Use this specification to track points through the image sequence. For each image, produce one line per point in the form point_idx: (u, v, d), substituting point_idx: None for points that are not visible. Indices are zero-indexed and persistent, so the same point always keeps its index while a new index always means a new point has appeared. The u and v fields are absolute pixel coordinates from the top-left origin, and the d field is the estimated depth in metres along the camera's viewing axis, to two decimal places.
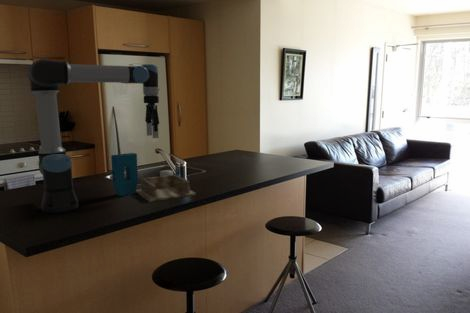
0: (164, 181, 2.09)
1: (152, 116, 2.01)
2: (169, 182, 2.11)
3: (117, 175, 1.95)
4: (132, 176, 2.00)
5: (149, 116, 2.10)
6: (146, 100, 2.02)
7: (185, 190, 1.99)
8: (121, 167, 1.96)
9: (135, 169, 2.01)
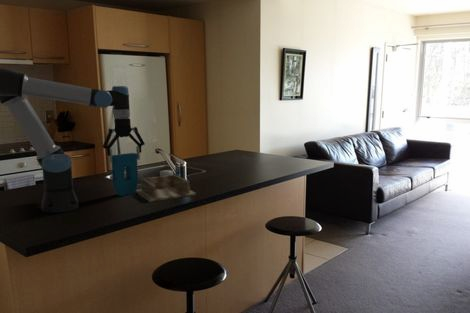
0: (164, 181, 2.09)
1: None
2: (169, 182, 2.11)
3: (117, 175, 1.95)
4: (132, 176, 2.00)
5: (132, 139, 2.00)
6: None
7: (185, 190, 1.99)
8: (121, 167, 1.96)
9: (135, 169, 2.01)
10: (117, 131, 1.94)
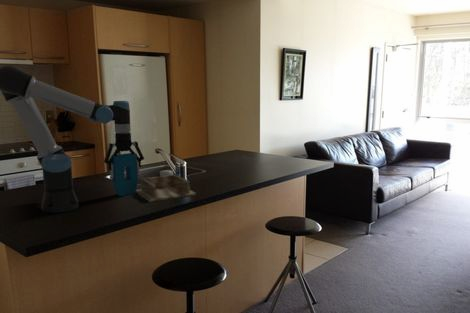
0: (164, 181, 2.09)
1: None
2: (169, 182, 2.11)
3: (117, 175, 1.95)
4: (132, 176, 2.00)
5: (132, 153, 2.01)
6: None
7: (185, 190, 1.99)
8: (121, 167, 1.96)
9: (135, 169, 2.01)
10: (118, 145, 1.95)
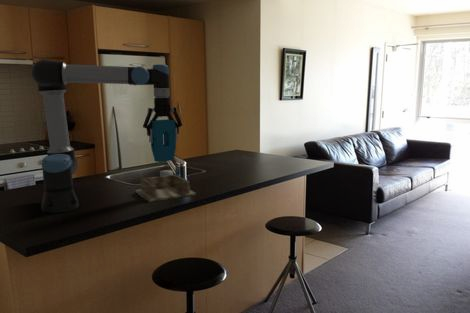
0: (164, 181, 2.09)
1: None
2: (169, 182, 2.11)
3: (156, 140, 1.92)
4: (170, 142, 1.97)
5: (170, 119, 1.98)
6: None
7: (185, 190, 1.99)
8: (160, 132, 1.93)
9: (173, 135, 1.98)
10: (157, 110, 1.92)
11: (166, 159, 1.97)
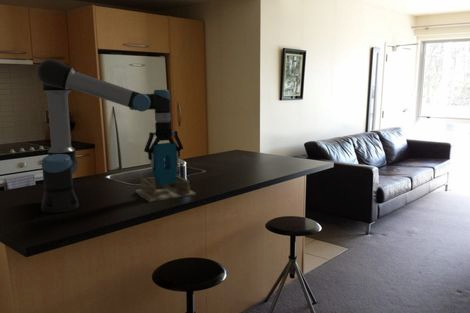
0: None
1: None
2: None
3: (158, 164, 1.93)
4: (172, 166, 1.99)
5: None
6: None
7: (185, 190, 1.99)
8: (161, 156, 1.94)
9: (174, 159, 2.00)
10: (158, 134, 1.94)
11: (167, 182, 1.98)
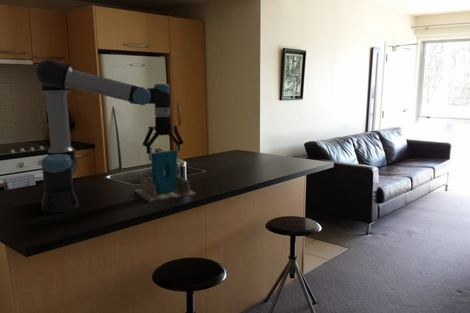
0: None
1: None
2: None
3: (157, 173, 1.94)
4: (171, 174, 2.00)
5: (171, 138, 1.99)
6: None
7: (185, 190, 1.99)
8: (161, 165, 1.95)
9: (174, 167, 2.00)
10: (157, 129, 1.94)
11: (167, 190, 1.99)
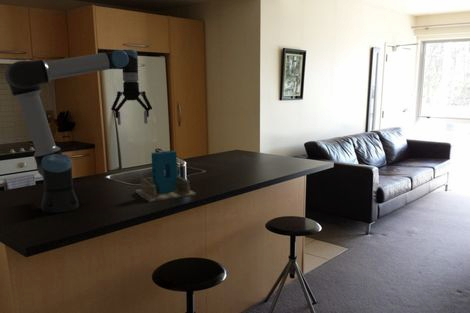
0: None
1: None
2: None
3: (157, 173, 1.94)
4: (172, 174, 2.00)
5: (140, 103, 2.04)
6: None
7: (185, 190, 1.99)
8: (161, 165, 1.95)
9: (174, 167, 2.00)
10: (125, 94, 1.99)
11: (167, 191, 1.99)
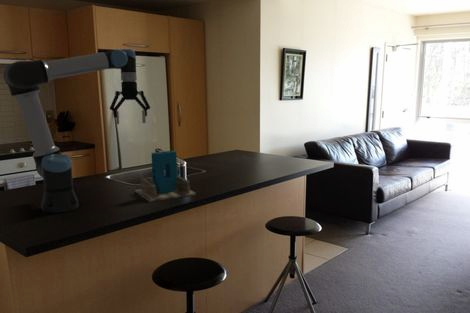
0: None
1: None
2: None
3: (157, 173, 1.94)
4: (172, 174, 2.00)
5: (138, 103, 2.05)
6: None
7: (185, 190, 1.99)
8: (161, 165, 1.95)
9: (174, 167, 2.00)
10: (124, 94, 1.99)
11: (167, 191, 1.99)
